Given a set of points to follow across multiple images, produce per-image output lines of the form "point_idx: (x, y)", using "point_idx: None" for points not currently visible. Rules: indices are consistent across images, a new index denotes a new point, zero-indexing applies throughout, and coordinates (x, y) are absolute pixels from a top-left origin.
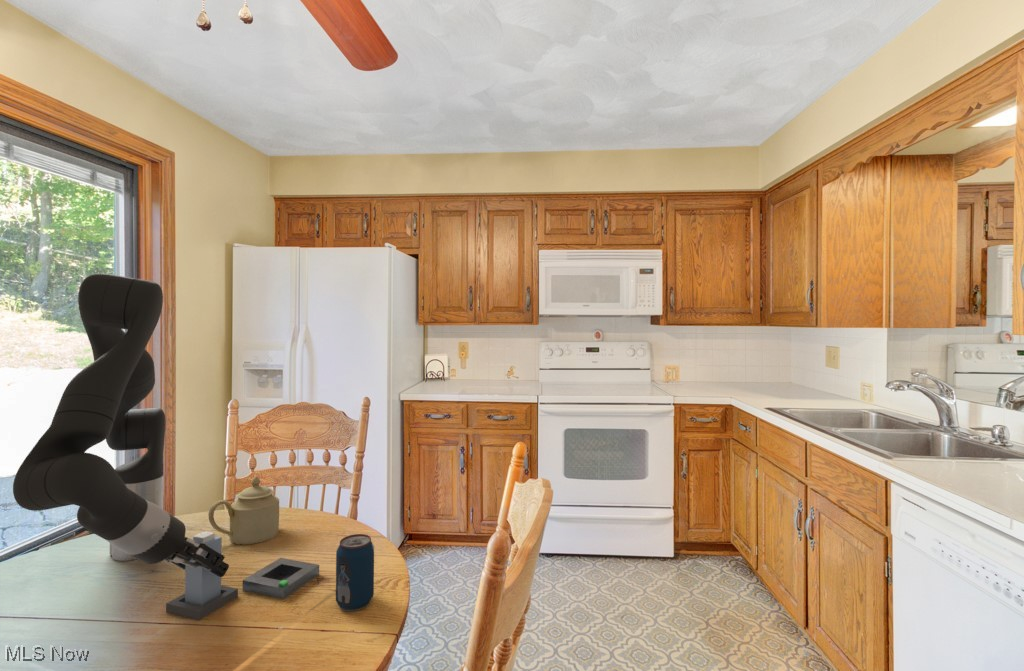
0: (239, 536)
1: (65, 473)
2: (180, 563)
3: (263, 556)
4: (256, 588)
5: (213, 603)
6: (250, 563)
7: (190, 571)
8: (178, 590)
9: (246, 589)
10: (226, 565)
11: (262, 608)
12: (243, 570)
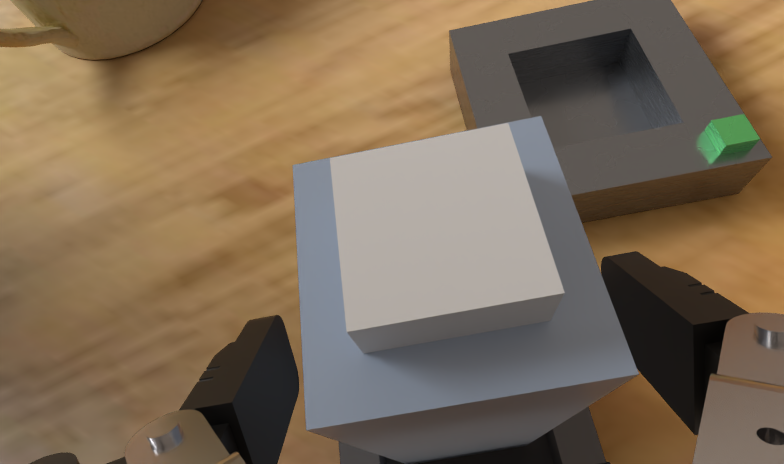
0: (109, 27)
1: None
2: (274, 436)
3: (295, 55)
4: (586, 205)
5: (588, 408)
6: (296, 102)
7: (433, 444)
8: (206, 366)
9: None
10: (699, 282)
11: (718, 268)
12: (321, 141)
